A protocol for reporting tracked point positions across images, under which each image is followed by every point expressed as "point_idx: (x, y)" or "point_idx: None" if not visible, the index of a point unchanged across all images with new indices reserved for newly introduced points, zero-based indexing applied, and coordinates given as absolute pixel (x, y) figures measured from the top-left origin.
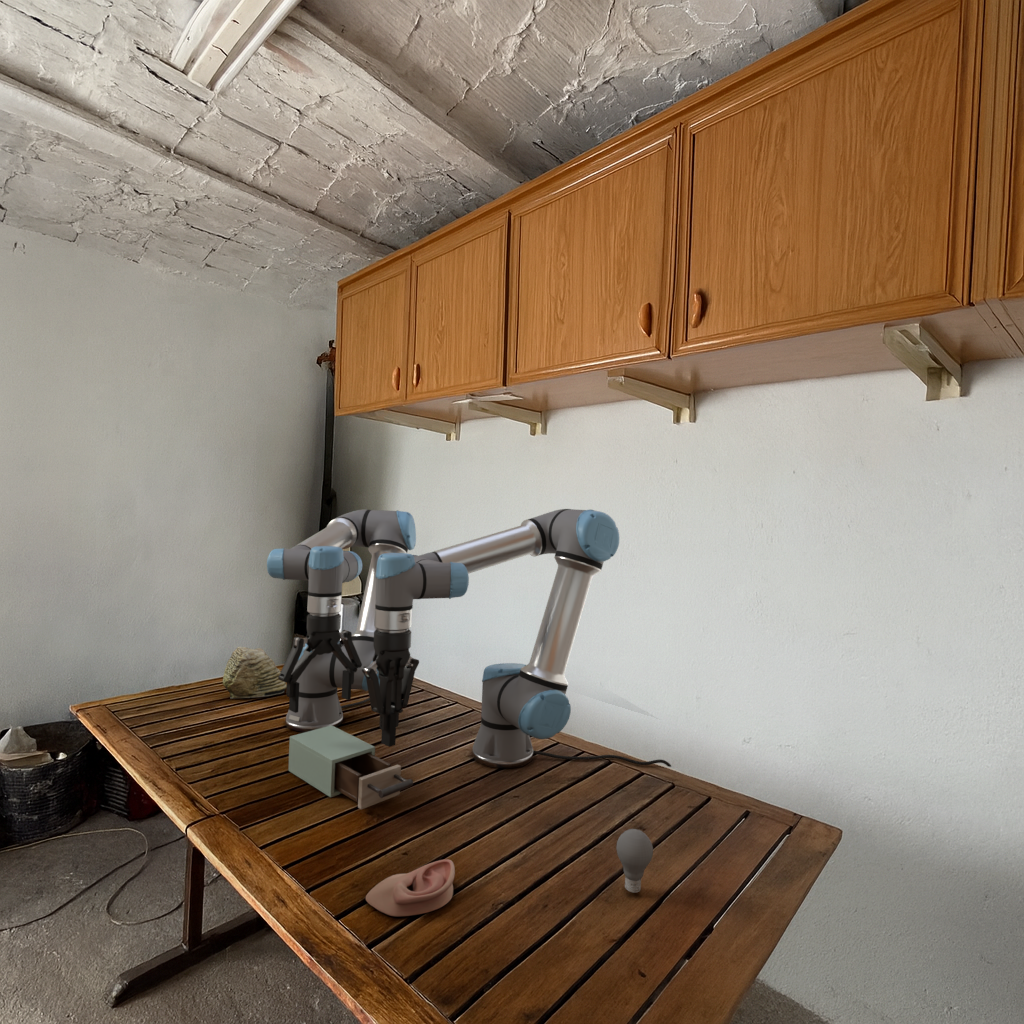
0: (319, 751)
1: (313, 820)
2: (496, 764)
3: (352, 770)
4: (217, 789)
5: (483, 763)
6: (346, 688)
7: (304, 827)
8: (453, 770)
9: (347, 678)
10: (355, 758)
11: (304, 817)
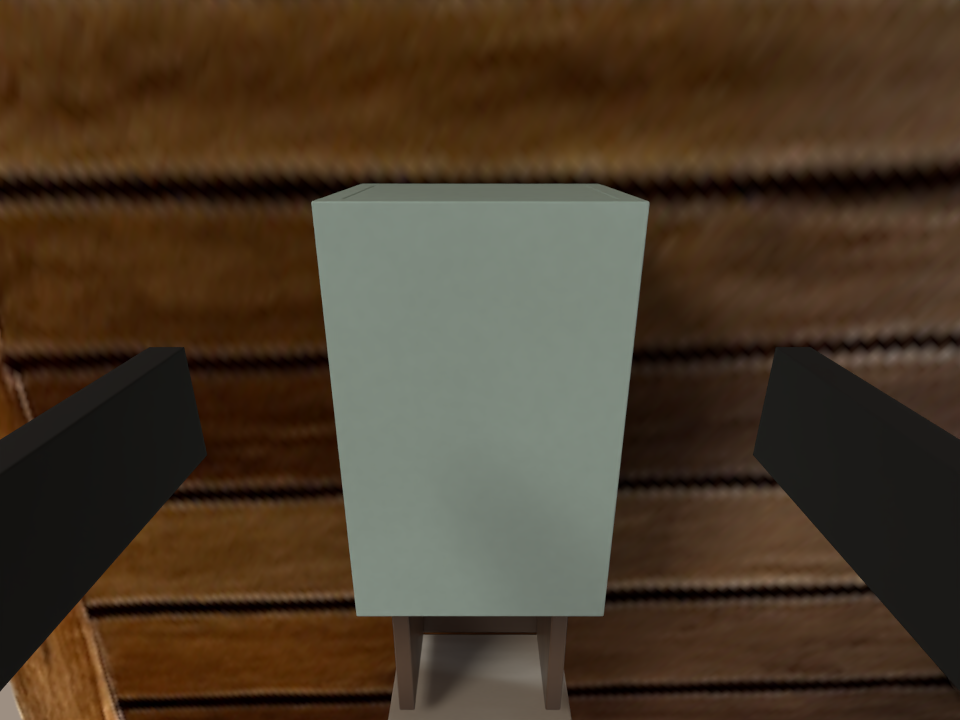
0: (357, 507)
1: (270, 584)
2: (955, 688)
3: (406, 671)
4: (15, 147)
5: None
6: (826, 493)
7: (231, 598)
8: (843, 603)
9: (922, 607)
10: None
11: (254, 555)
